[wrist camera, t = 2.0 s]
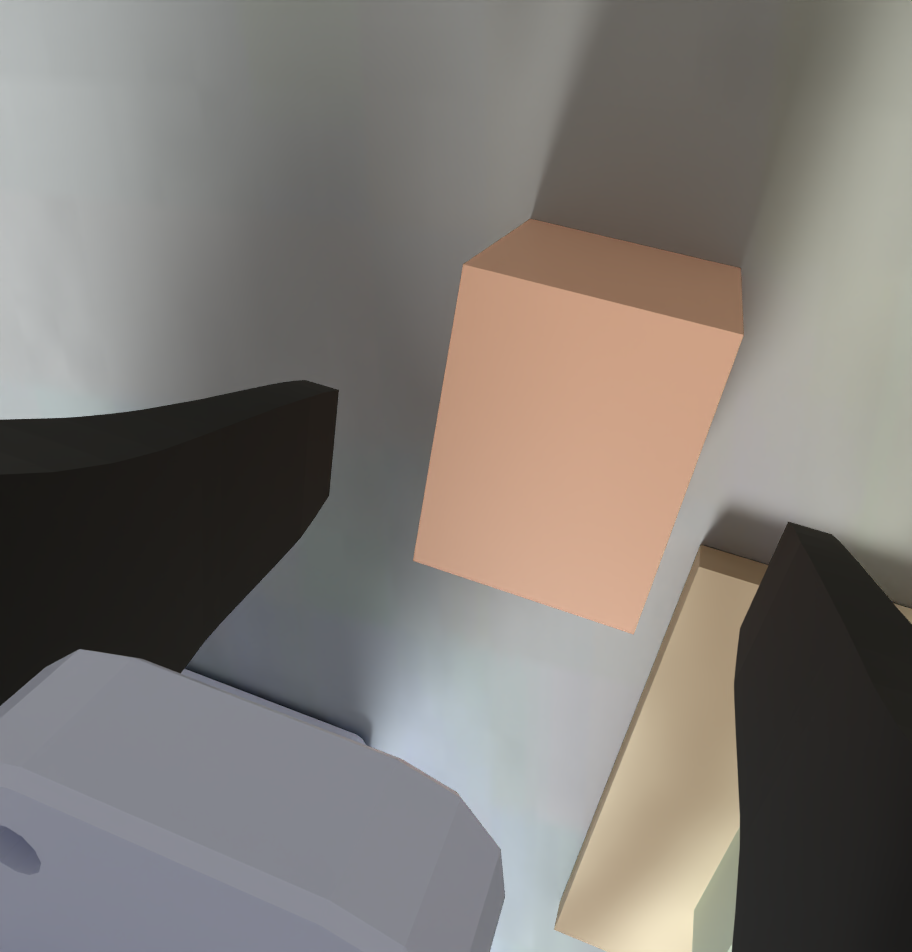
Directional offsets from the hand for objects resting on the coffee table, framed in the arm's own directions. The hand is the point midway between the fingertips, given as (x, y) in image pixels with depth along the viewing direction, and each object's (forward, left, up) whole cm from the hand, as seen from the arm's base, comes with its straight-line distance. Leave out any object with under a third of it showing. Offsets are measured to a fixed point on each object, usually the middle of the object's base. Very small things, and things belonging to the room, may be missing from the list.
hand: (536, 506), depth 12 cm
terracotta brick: (0, 0, -7) cm, 7 cm away
